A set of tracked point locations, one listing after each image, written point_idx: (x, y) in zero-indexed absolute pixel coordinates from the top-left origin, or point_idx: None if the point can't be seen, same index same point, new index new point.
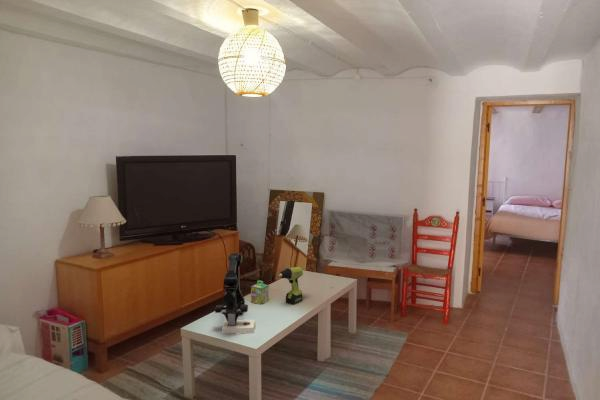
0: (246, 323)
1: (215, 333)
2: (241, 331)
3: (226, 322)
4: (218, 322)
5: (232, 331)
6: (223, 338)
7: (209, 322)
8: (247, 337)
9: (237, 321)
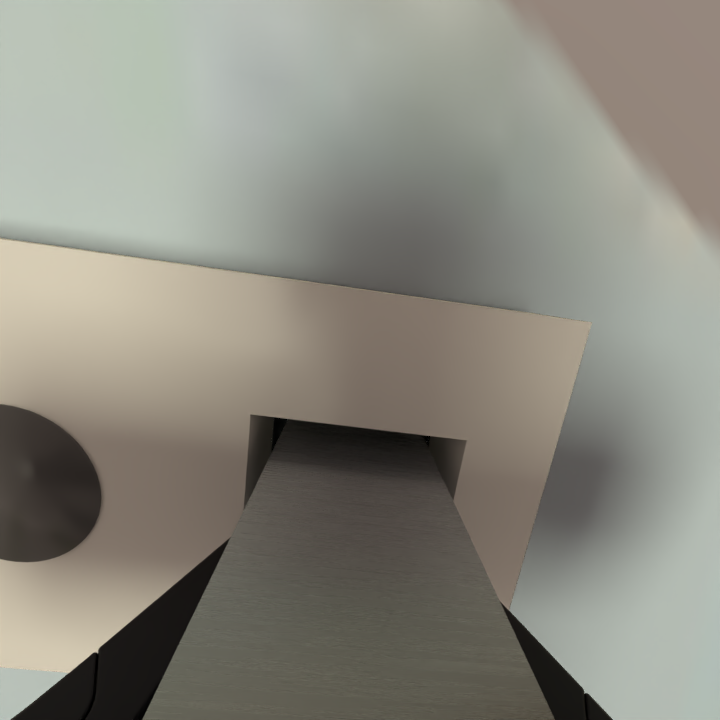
0: (14, 498)
1: (640, 336)
2: (158, 260)
3: None
4: None
5: (343, 286)
6: (525, 64)
7: (663, 715)
8: (23, 3)
9: None
